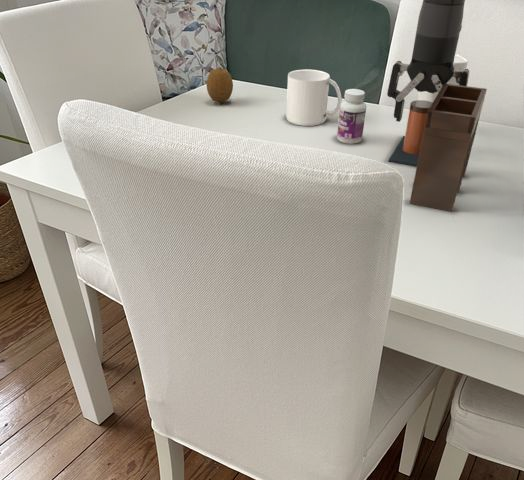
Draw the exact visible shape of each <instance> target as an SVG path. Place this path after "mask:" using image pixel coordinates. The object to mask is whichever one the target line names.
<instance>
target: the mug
mask: <svg viewBox="0 0 524 480" xmlns="http://www.w3.org/2000/svg"><path fill="white" fill-rule="evenodd" d="M330 85H331V86H333V88H334V89H335V92H336V97H337V104H336V107H335V108H334V109H333V110H328V102H329V89H330ZM342 102H343V98H342V92H341V89H340V87H339V85H338V83H337V82H336V81H335V80H333V79H331V77H330V74H329V73H328V72H326V71H323V70H319V69H318V70H317V69H307V68H305V69H295V70H292V71H289V72H288V73H287V88H286V109H285V110H286V113H285V118H286V120H287V121H288V122H289V123H290V124H293V125H296V126H301V127H314V126H319V125H322V124H323V123H325V121H326V120H327V116H334V115H335V114H337V112H339V111H340V105H341V103H342Z"/></svg>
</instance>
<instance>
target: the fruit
mask: <svg viewBox="0 0 524 480" xmlns="http://www.w3.org/2000/svg"><path fill="white" fill-rule="evenodd" d="M231 75H232V74H231V73H230V72H229V71H228V70H227V69H225V68H222V67H221V66H218V67H216V68H214V69H211V71H210V72H209V73H208V75H207V79H206V90H207V93H208V96H209V98H210V99H211V100H212V101H213V102H215V103H216V104H219V105H221V104H224V103H225V102H227V101H228V100H230V98H231V96H232V93H233V90H234V89H233V88H234V81H233V78H232V76H231Z"/></svg>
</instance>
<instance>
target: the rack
mask: <svg viewBox="0 0 524 480" xmlns="http://www.w3.org/2000/svg"><path fill="white" fill-rule="evenodd" d="M487 91H488V89H487V88H483V87H475V86H468V85H467V86H461V85H453V84H445V83H444V85H443V86H442V88H441V90H440V91H439V93H438V95H437V96H436V98H435V100H434V101H433V103H432V105H431V106H430V108H429V110H428V113H427V118H426V123H425V128H424V133H423V138H422V143H421V148H420V153H419V158H418V163H417V166H416V169H415V175H414V178H413V183H412V188H411V194H410V201H409V204H411V205H415V206H421V207H425V208H432V209H435V210H440V211H441V210H442V211H447V212H453V209H454V206H455V202H456V198H457V195H458V194H459V193H460V190H461V185H462V181H463V178H465V177H466V176H465V175H466V171H467V167H468V164H469V160H470V156H471V153H472V148H473V145H474V142H475V137H476V133H477V129H478V125H479V121H480V117H481V113H482V110H483V107H484V102H485V98H486V95H487Z"/></svg>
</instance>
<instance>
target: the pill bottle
mask: <svg viewBox="0 0 524 480" xmlns="http://www.w3.org/2000/svg"><path fill="white" fill-rule="evenodd" d="M365 97H366V91H364V90H363V89H358V88H348V89H346V90H345V91H344V100H342V103H341V105H340V109H339V111H338V122H337V133H336V138H337V140H338V141H339V142H341V143H343V144H348V145H352V144H358V143H360V142H362V140H363V135H364V127H365V120H366V114H367V113H366V112H367V104H366V103H365V102H364V101H365Z"/></svg>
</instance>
